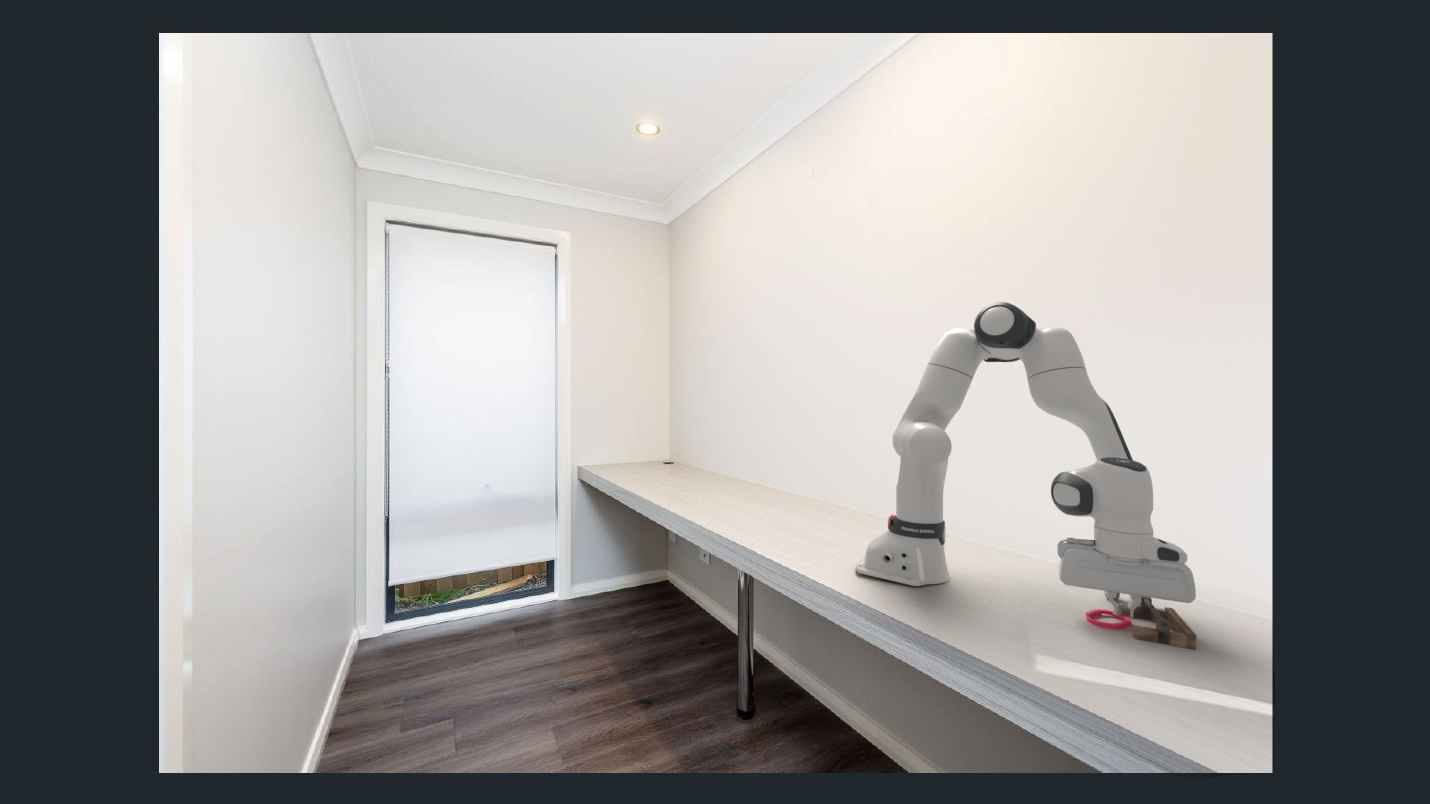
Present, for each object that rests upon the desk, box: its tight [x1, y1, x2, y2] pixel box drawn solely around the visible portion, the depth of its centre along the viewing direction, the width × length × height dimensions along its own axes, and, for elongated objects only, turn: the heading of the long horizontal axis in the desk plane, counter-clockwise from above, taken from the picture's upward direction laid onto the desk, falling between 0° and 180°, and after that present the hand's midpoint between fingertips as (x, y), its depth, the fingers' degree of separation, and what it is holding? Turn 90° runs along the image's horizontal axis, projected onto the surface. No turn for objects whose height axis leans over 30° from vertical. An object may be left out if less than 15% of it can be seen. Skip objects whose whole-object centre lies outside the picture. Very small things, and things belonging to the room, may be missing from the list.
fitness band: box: [1085, 609, 1132, 631], centre depth 97 cm, size 8×6×2 cm
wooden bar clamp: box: [1118, 596, 1197, 651], centre depth 93 cm, size 8×13×4 cm, turn 151°
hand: (1122, 615), depth 96 cm, fingers closed
